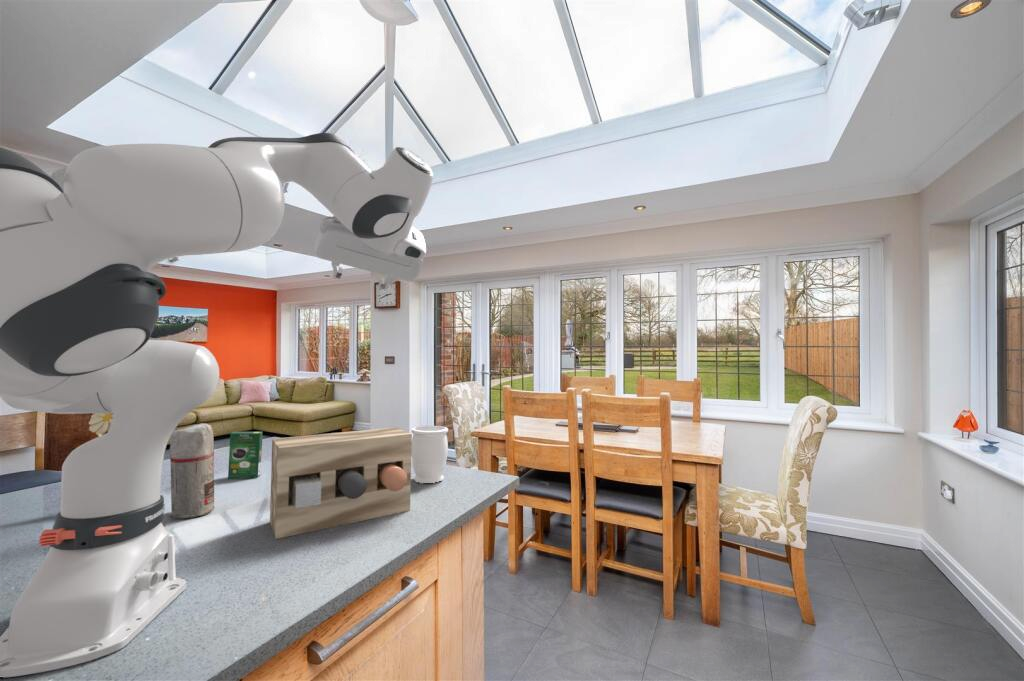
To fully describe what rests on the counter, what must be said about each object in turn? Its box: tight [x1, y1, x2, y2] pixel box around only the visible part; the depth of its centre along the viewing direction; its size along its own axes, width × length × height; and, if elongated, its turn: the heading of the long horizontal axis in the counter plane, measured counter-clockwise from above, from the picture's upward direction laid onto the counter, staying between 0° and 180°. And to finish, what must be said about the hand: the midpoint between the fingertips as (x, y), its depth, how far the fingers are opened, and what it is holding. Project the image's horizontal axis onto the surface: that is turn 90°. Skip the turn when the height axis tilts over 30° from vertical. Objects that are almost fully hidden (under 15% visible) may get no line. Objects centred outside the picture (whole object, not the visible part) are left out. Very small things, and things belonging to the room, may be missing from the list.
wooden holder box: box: [269, 426, 413, 540], centre depth 98 cm, size 10×28×18 cm, turn 125°
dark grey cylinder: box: [337, 469, 367, 499], centre depth 93 cm, size 5×5×5 cm
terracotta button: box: [378, 463, 407, 491], centre depth 98 cm, size 5×5×5 cm
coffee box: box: [227, 431, 263, 479], centre depth 125 cm, size 8×3×13 cm, turn 103°
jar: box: [411, 425, 449, 484], centre depth 126 cm, size 11×10×15 cm
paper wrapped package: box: [168, 423, 215, 520], centre depth 98 cm, size 8×8×20 cm
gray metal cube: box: [291, 475, 321, 508], centre depth 88 cm, size 5×5×5 cm
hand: (359, 281), depth 90 cm, fingers open, 8 cm apart
